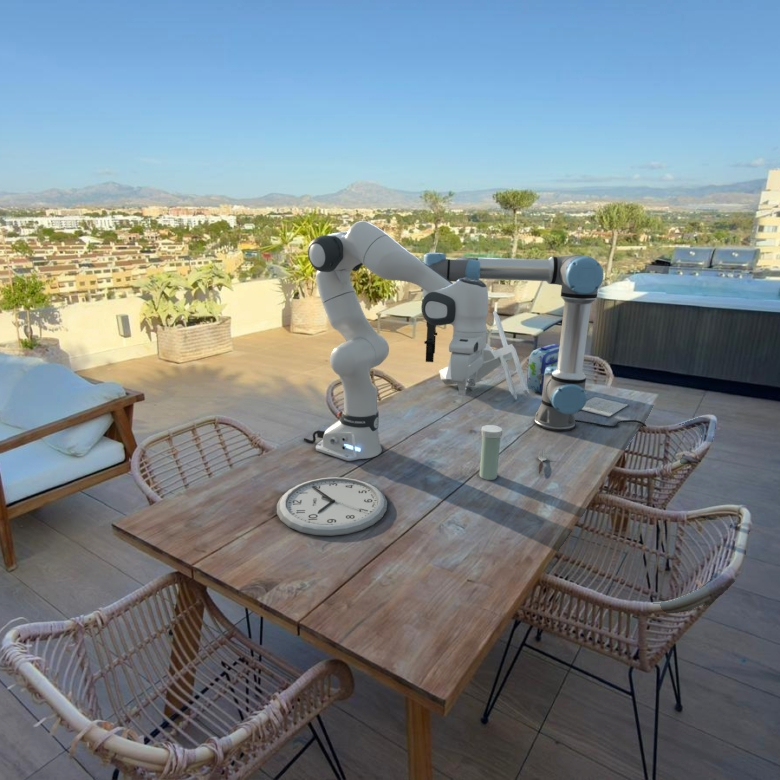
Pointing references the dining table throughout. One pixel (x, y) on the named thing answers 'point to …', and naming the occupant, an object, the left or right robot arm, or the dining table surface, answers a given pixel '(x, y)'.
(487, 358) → the white plastic object
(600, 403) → the invitation card
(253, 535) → the dining table surface
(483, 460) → the jar
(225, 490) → the dining table surface
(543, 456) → the fork
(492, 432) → the lid
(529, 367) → the lunch box
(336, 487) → the wall clock
